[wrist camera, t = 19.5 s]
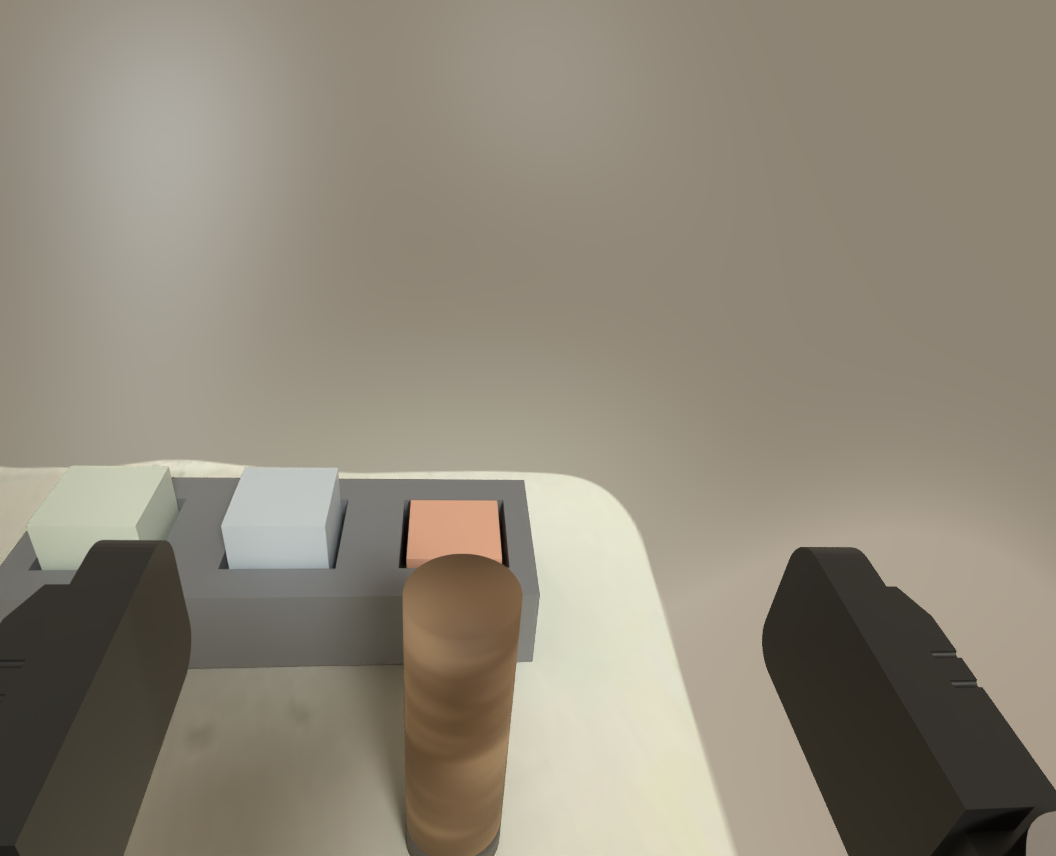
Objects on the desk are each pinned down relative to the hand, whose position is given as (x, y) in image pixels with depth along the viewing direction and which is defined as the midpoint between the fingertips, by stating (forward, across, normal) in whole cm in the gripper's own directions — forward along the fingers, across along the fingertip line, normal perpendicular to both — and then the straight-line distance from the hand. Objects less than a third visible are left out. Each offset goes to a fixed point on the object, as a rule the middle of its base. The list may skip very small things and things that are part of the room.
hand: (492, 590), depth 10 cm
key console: (+24, +8, +26) cm, 36 cm away
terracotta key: (+24, -1, +25) cm, 35 cm away
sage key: (+24, +17, +23) cm, 38 cm away
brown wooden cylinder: (+10, 0, +25) cm, 27 cm away
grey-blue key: (+24, +8, +23) cm, 34 cm away
